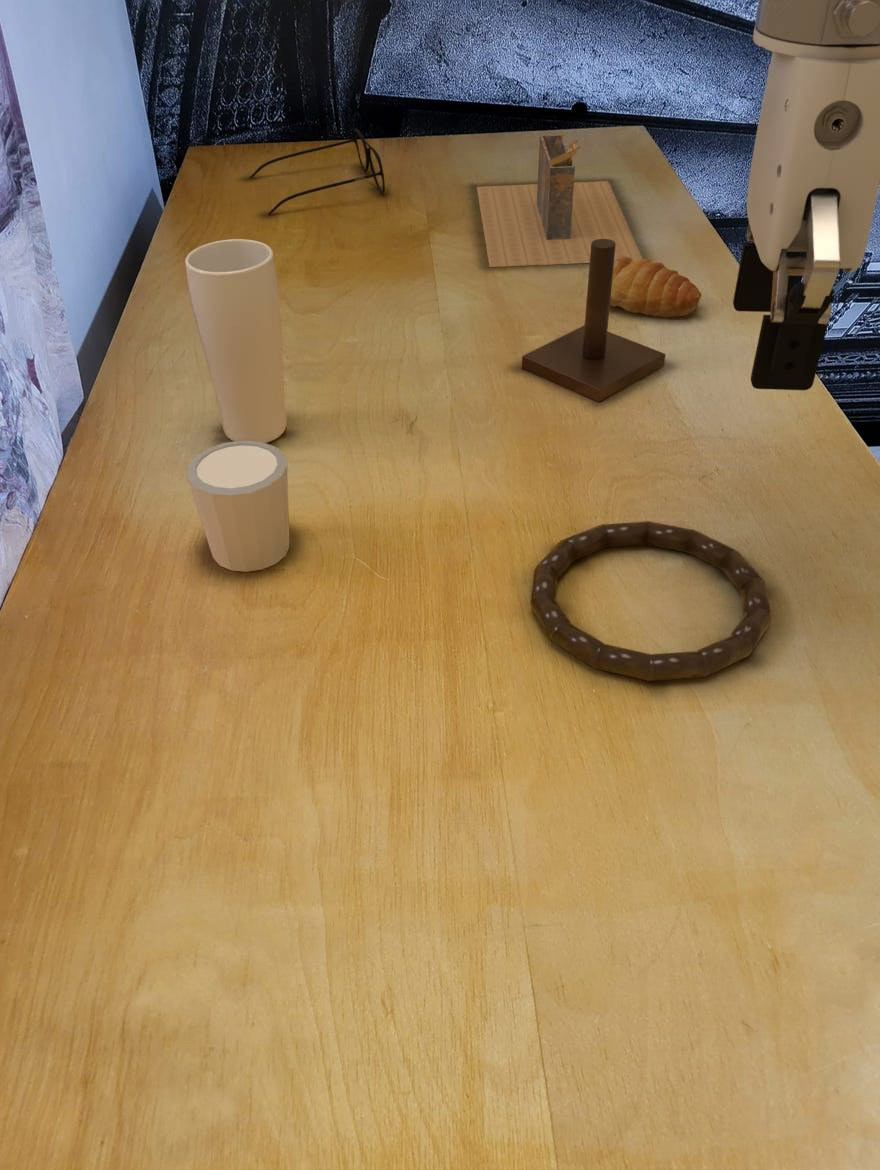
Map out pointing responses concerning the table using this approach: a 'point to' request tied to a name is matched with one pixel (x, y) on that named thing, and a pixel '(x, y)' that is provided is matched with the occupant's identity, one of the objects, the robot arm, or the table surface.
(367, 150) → the glasses
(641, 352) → the post
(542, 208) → the architectural model on board
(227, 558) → the beige short cylinder
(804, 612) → the table surface
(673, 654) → the ring
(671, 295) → the pastry
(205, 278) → the drinking glass
